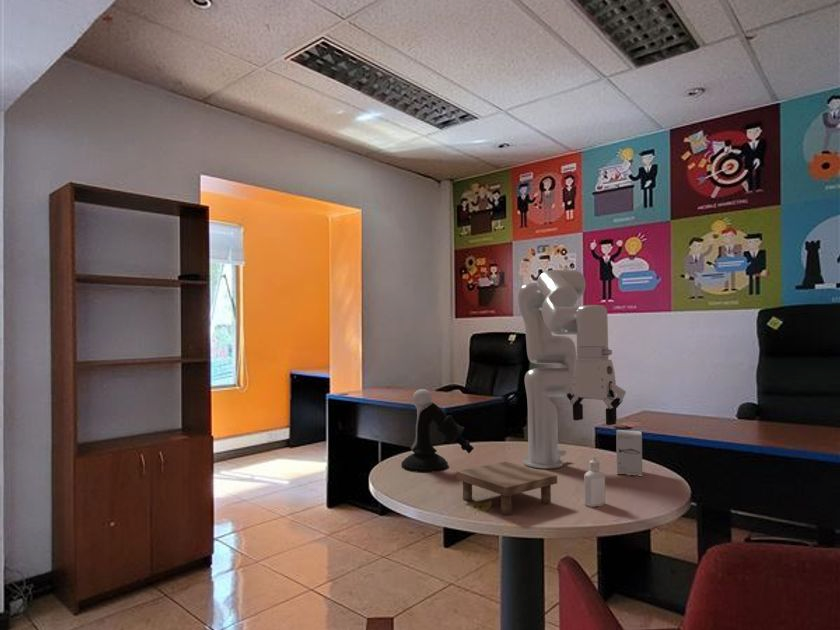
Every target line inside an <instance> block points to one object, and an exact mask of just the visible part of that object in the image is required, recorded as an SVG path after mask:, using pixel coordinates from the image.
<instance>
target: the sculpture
mask: <svg viewBox="0 0 840 630" xmlns="http://www.w3.org/2000/svg"><path fill="white" fill-rule="evenodd" d="M412 396H413V397H412V400H413V402H414V404H415V405H414V406H415V407H416V415H417V417H416V422H415V423H416V424H415V439H414V441H413V443H412V445H411V446H410V449H411V450H412V452H413V453H411V454H410V455H408V456H407V457H405V458H404V460H403V461H402V462H401V468H402V469H403V468H404V470H405V469H406V471H409V470H410V471H409V472H413V471H417V472H416V473H431V472H432V471H436V472H439V471H440V470H441V471H444V470H446V469H448V468H449V467H448V466H449V463H448V461H447V460H446V459H445V458H444V457H443V456H441V455H439V454H437V452H438V451H437V449H436V448H435V447H434V446H433V443H432V436H431V425H432V423H433V422H434V423H435V424H436V426H437V427H436V431H438V432H439V433H441V434H442V435H444V437H445V439H446V442H447V444H448V445H450V444H453V443H454V442H456V443H458V445H460V447H461V450H462V451H466V452H467V453H468V454H470V453H471V452H472V451H473V450H474V448H475V447H474V446H473V445H471V442H470V441H469V440H466V439H465V438H464V437H463V436H462V434H463V431H464V429H465V427H464V426H463V425H462V426H461V425H459V424H458V423H456V421H455V420H454V418H453V415H452V414H450V415H449V414H448V415H447V414H446V413H445V412H444V410H443V409H441V408H440V407H439V406H438V405H437V404H436V403H435V402H433V401H432V400H433V399H432V398H433V397H432V393H431V392H430V391H429V390H427V389H425V388H421V389H417V390H416V391H415V392H414V393H413V395H412ZM441 471H440V472H441ZM432 473H433V472H432Z"/></svg>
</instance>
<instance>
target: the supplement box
mask: <svg viewBox="0 0 840 630" xmlns="http://www.w3.org/2000/svg"><path fill="white" fill-rule="evenodd" d="M615 434H616V438H615V439H616V440H615V441H616V443H615V444H616V446H615V447H616V475H617V474H629V475H628V476H630V475H642V476H643V435H642V434H643V433H642V431H639V430H626V429H625V430H623V429H616V433H615Z"/></svg>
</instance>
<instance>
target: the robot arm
mask: <svg viewBox="0 0 840 630" xmlns="http://www.w3.org/2000/svg"><path fill="white" fill-rule="evenodd" d="M586 287H587V285H586V278H585V277H584V275H583V273H582V272H580V271H578V270H574V269H573V270H572V269H550V270H545V271H544V272H542V273H541V274H540V275H538V278H537V281H536V282H529V283H526V284H523V285H522V286H521V287H520V288H519V290H518V293H517V296H518V297H517V301H518V302H517V303H518V309H519V311H520V314H521V317H522V319H523V322H524V327H525V328H524V329H525V342H526V354H527V359H528V361H529V362H531V364H536V365H559V367H536V368H532V369H529V370H528V371H526V372H525V375H524V386H525V393H526V399H527V400H526V401H527V402H526V403H527V438H528V439H527V441H528V443H527V446H528V451H527V452H528V455H527V457H526V458H523V464H524V465H525V466H526V467H527V466H528V467H529V468H533V469H534V468H536V469H548V470H549V469H552V470H553V469H558V468H559V469H560V468H561V467H563V465H564V461H563V460H562V459H561V457H564V456H566V455H567V450H566V449H561V450H560V449H559V444H558V443H559V437H558V435H559V433H558V422H559V421H558V410H557V408H556V405H555V404H554V403H553V402H552V401H551V399H550V398H554V397H555V398H556V397H558V398H559V397H560V398H561V397H562V398H564V397H567V398H568V400H569V403H570V404H571V405H572V420H573V421H581V420H582V421H583V419H584V407H583V406H584V405H583V403H582V401H583V400H584V399H587V400H597V401H603V402H604V404H605V405H606V407H607V408H605V424H606V426H612V425H617V420H618V419H617V409H618V408H619V406H620V405H621V403H623V401H624V398H625V396H626V390H625V389H623V388H622V387H620V386H618V385H617V383H616V374H615V369H614V368H615V367H614V364H613V360H612V359H609V356H611V355H612V354H613V350H612V349H609V331H608V330H609V328H608V309H607V308H606V306H604V305H601V304H600V305H599V304H587V305H586V304H585V305H580V306H575V305H576V304H577V301H578V300H579V299H580V298H581V297H582V296H583V295H584V293H585V291H586ZM553 334H555V335H553ZM566 335H576V345H575V343H574V341H573V339H572V338H571V337H569V336H566Z"/></svg>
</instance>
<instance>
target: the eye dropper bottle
mask: <svg viewBox="0 0 840 630" xmlns="http://www.w3.org/2000/svg"><path fill="white" fill-rule="evenodd" d="M588 466H589V467H588V469H589V470H588V471H587V472H585V473H584V475H583V476H584V477H583V490H584V491H583V492H584V494H583V498H584V502H583V503H584V505H585V506H586V507H587V506H588V507H590V508H596V507H595V506H599V507H603V506H604V505H605V504H606V475H605V473H604V472H603V471H602V470H600V461H598V460H597V457H596V455H592V458H591V460H588Z"/></svg>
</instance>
